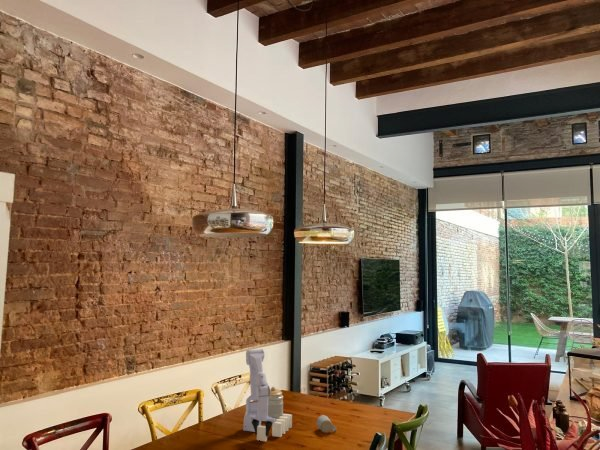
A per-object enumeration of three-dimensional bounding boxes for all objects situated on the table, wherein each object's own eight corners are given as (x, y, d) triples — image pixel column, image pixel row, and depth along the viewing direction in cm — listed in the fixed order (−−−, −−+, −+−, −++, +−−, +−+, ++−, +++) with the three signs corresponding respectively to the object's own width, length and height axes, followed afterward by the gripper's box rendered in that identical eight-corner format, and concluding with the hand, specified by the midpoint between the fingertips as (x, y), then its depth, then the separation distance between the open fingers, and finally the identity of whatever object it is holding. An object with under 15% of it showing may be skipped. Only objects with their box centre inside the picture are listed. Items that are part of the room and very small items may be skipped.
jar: (280, 420, 276) (280, 390, 278) (259, 418, 279) (260, 388, 280) (285, 413, 289) (285, 385, 290) (265, 412, 291) (266, 383, 293)
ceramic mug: (320, 434, 254) (321, 419, 255) (316, 429, 262) (316, 415, 263) (338, 433, 257) (339, 418, 258) (333, 428, 265) (334, 414, 266)
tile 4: (272, 435, 250) (272, 422, 251) (273, 434, 252) (273, 421, 253) (280, 437, 249) (280, 423, 249) (282, 435, 250) (282, 422, 251)
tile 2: (279, 429, 260) (279, 417, 260) (280, 428, 262) (280, 416, 262) (287, 431, 258) (287, 418, 259) (288, 430, 260) (288, 417, 261)
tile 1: (282, 427, 264) (282, 414, 265) (283, 426, 266) (283, 413, 267) (290, 428, 263) (290, 415, 263) (291, 427, 265) (291, 414, 265)
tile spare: (256, 440, 244) (257, 426, 244) (258, 438, 245) (258, 425, 246) (265, 441, 242) (265, 427, 243) (266, 440, 244) (267, 426, 244)
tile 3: (275, 432, 255) (275, 419, 256) (277, 431, 257) (277, 418, 258) (284, 434, 253) (284, 420, 254) (285, 432, 255) (285, 419, 256)
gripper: (247, 409, 244) (246, 435, 243) (272, 412, 239) (271, 439, 238) (252, 405, 251) (252, 431, 249) (277, 408, 246) (276, 435, 244)
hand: (262, 435), depth 244 cm, fingers open, 5 cm apart
